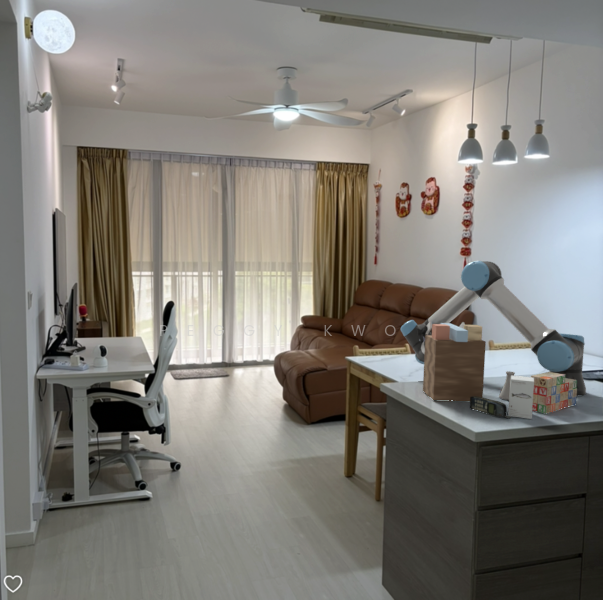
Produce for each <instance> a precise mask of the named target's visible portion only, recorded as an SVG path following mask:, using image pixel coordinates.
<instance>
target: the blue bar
mask: <svg viewBox="0 0 603 600" xmlns="http://www.w3.org/2000/svg"><path fill="white" fill-rule="evenodd" d="M440 324H446V325H449V326H450V335H449V338H450V339H452V340H454V341H456V342H468V331H467V330H465V329H463V328H460V327H459V326H458V325H456V324H453V323H451V322H449V323H440Z"/></svg>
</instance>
